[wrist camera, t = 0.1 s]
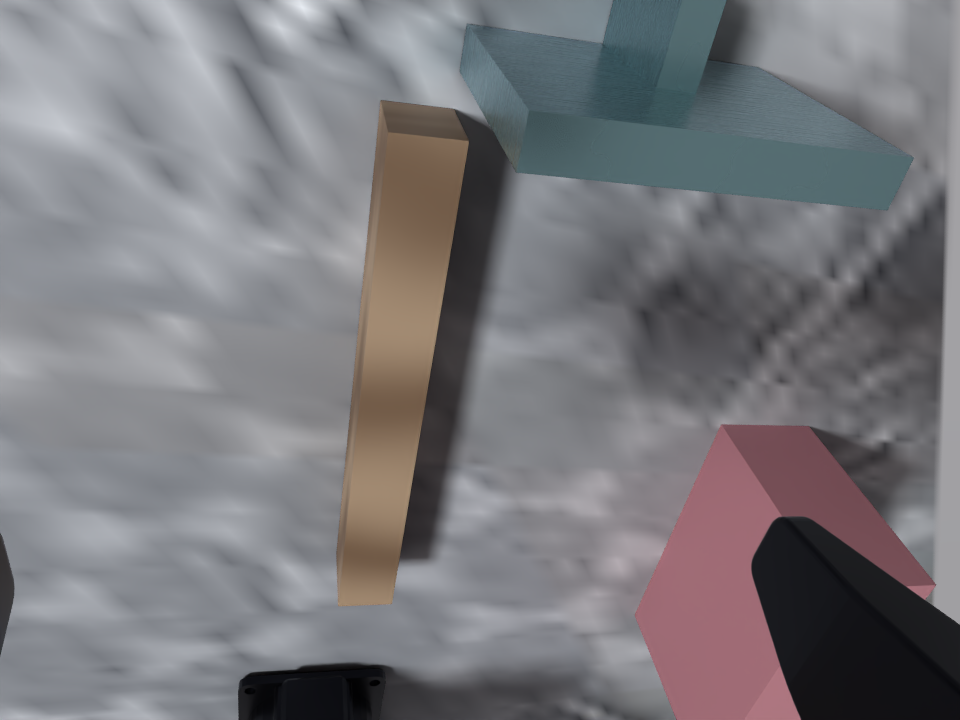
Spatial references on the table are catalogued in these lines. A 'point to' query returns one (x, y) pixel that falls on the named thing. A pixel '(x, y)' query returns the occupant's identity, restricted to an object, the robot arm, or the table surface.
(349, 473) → the rail
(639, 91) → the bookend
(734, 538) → the boxed book
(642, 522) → the table surface
